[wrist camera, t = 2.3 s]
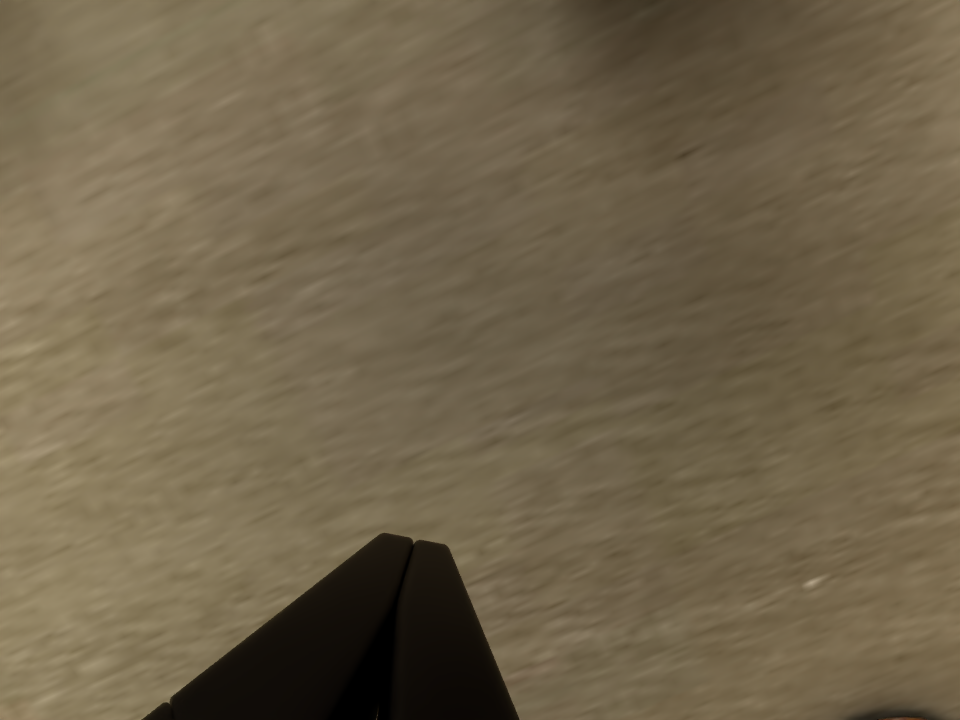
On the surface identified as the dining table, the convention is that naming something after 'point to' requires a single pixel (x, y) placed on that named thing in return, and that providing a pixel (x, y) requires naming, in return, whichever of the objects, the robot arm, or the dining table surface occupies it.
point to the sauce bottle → (904, 718)
